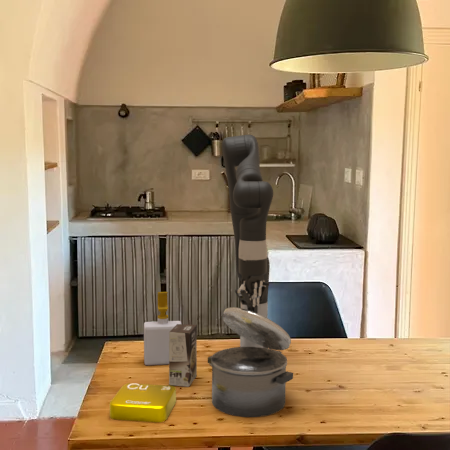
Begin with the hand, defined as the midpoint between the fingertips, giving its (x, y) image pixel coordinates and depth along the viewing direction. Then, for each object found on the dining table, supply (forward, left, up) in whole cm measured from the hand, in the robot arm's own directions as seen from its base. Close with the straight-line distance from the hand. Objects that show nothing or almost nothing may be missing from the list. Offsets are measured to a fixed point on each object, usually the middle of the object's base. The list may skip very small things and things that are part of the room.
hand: (252, 319), depth 164 cm
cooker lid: (-2, 0, -4) cm, 4 cm away
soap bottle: (-7, -40, -23) cm, 47 cm away
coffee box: (+1, -24, -23) cm, 33 cm away
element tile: (+23, -19, -24) cm, 38 cm away
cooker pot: (+1, 0, -23) cm, 23 cm away
